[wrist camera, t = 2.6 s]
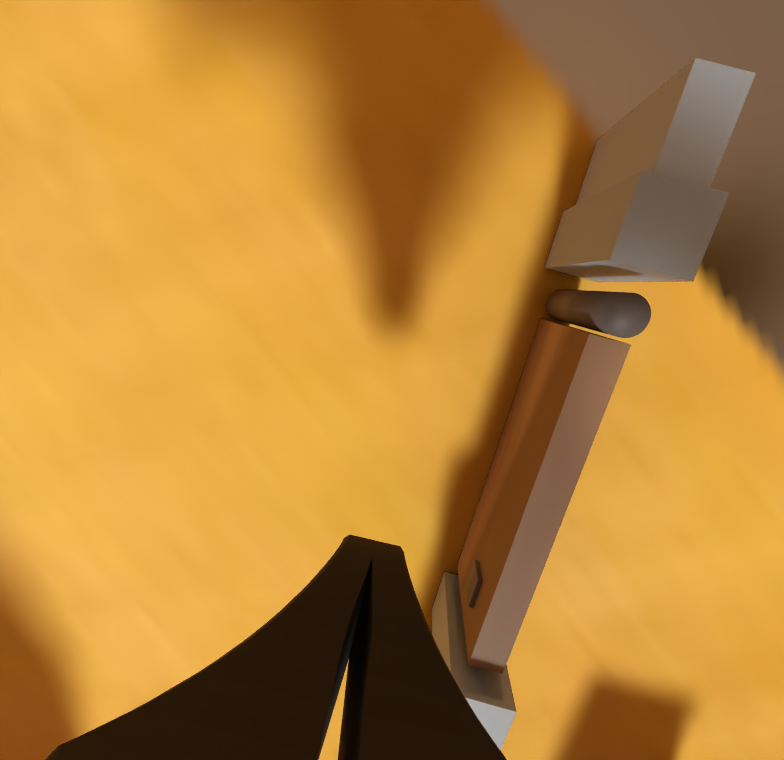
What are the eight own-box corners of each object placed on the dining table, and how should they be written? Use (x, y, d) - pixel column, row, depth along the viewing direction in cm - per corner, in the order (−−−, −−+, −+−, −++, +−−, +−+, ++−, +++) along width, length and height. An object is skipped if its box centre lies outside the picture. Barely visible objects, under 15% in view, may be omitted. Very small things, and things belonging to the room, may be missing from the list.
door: (585, 295, 14) (664, 300, 10) (486, 573, 17) (509, 688, 12) (547, 284, 14) (607, 285, 10) (453, 564, 17) (464, 675, 12)
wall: (645, 152, 13) (779, 72, 8) (396, 840, 20) (386, 1028, 15) (587, 137, 13) (686, 48, 8) (358, 830, 20) (336, 1012, 15)
